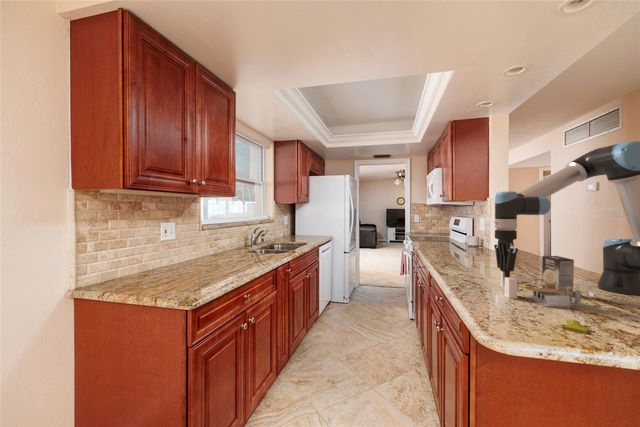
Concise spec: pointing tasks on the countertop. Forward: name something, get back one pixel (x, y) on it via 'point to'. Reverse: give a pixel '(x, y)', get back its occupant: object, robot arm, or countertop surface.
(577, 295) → the board
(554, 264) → the coffee box
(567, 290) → the strap
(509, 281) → the cream l-shaped bracket
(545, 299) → the heatsink
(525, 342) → the countertop surface
